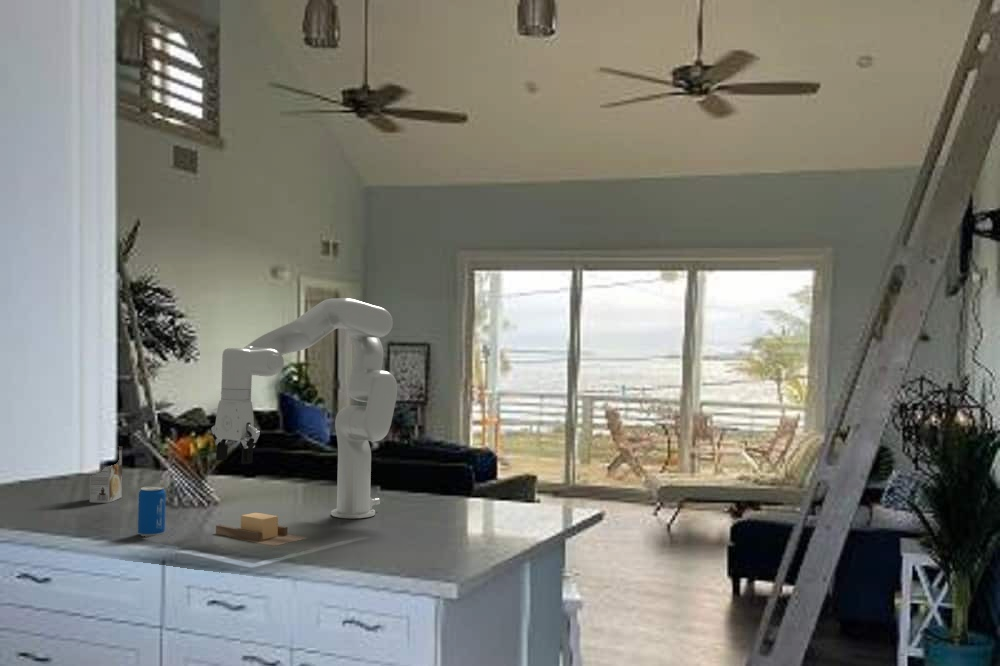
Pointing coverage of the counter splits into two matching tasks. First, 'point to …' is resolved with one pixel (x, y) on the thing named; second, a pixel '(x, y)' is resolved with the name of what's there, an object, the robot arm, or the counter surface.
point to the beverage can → (151, 511)
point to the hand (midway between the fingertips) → (234, 461)
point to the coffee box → (107, 483)
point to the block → (261, 524)
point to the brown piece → (258, 535)
